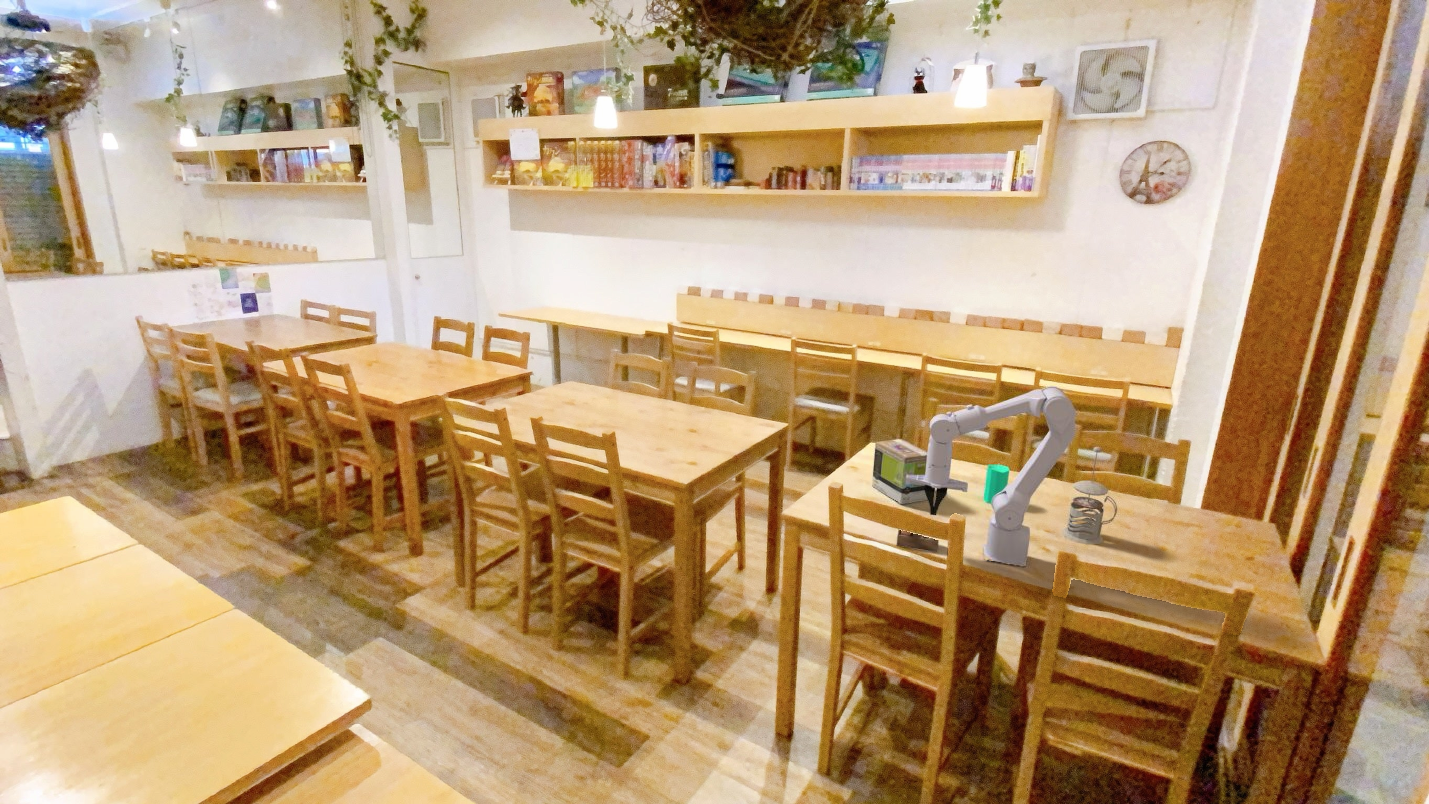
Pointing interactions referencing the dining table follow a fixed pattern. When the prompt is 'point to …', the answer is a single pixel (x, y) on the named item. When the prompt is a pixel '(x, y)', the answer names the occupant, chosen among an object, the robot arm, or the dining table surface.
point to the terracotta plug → (905, 533)
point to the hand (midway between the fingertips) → (933, 513)
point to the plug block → (917, 542)
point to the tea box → (899, 470)
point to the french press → (1087, 530)
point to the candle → (995, 481)
